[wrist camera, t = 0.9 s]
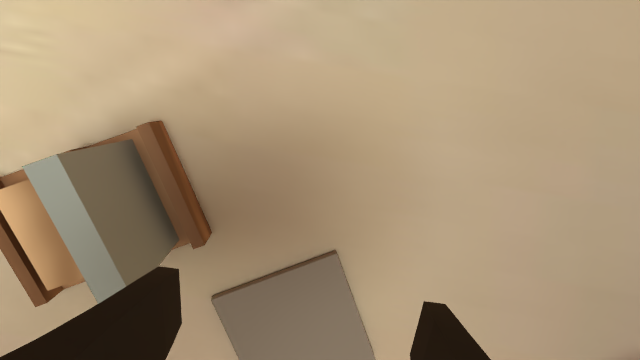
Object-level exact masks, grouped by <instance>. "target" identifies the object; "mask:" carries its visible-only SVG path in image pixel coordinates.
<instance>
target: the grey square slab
mask: <svg viewBox="0 0 640 360" xmlns="http://www.w3.org/2000/svg"><path fill="white" fill-rule="evenodd" d="M22 167H23V169H24V171H25V173H26V175H27V176H28V178H29V180H30V182H31V184H32V185H33V187H34V189H35V191H36V193H37V194H38V196H39V198H40V200H41V202H42V203H43V205H44V207H45V209H46V211H47V212H48V214H49V216H50V218H51V220H52V221H53V223H54V225H55V227H56V229H57V230H58V232H59V234H60V236H61V238H62V239H63V241H64V243H65V245H66V247H67V248H68V250H69V252H70V254H71V256H72V257H73V259H74V261H75V263H76V265H77V266H78V268H79V270H80V272H81V274H82V275H83V277H84V279H85V281H86V283H87V285H88V286H89V288H90V290H91V292H92V294H93V295H94V297H95V299H96V301H97V303H98V304H99V303H100V302H102V301H104V300H105V299H107V298H108V297H110V296H112V295H113V294H115V293H117V292H118V291H120V290H121V289H123V288H125V287H126V286H128V285H129V284H131V283H132V282H134V281H136V280H137V279H139V278H140V277H142V276H144V275H145V274H147V273H148V272H150V271H152V270H153V269H155V268H157V267H158V266H159V265H160V263H161V262H162V261H163V260H164V258H165V257H166V256H167V255H168V253H169V252H170V251H171V250H172V248H173V247H174V246H175V245H176V243H177V242H178V241H179V237H178V235H177V233H176V231H175V229H174V227H173V225H172V223H171V220H170V218H169V216H168V214H167V212H166V210H165V208H164V206H163V204H162V201H161V199H160V197H159V195H158V193H157V191H156V189H155V187H154V184H153V182H152V180H151V178H150V176H149V174H148V172H147V170H146V168H145V165H144V163H143V161H142V159H141V157H140V155H139V153H138V151H137V148H136V146H135V144H134V142H133V140H132V139H130V140H125V141H120V142H115V143H110V144H105V145H100V146H95V147H90V148H85V149H81V150H76V151H71V152H66V153H61V154H56V155H53V156H51V157H48V158H45V159H42V160H39V161H37V162H34V163H31V164H28V165H25V166H22Z"/></svg>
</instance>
